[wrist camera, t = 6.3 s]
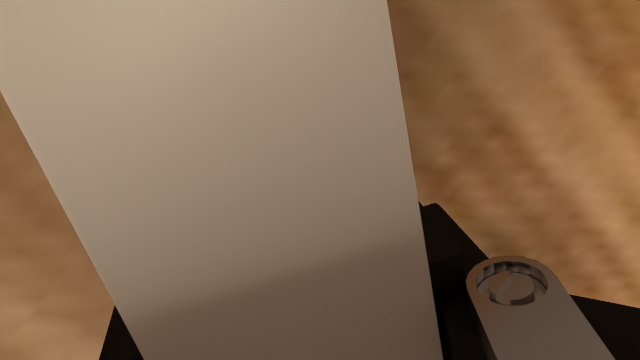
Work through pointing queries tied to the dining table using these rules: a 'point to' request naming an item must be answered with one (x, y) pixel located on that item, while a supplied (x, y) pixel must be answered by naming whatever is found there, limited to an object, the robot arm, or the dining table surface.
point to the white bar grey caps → (231, 171)
